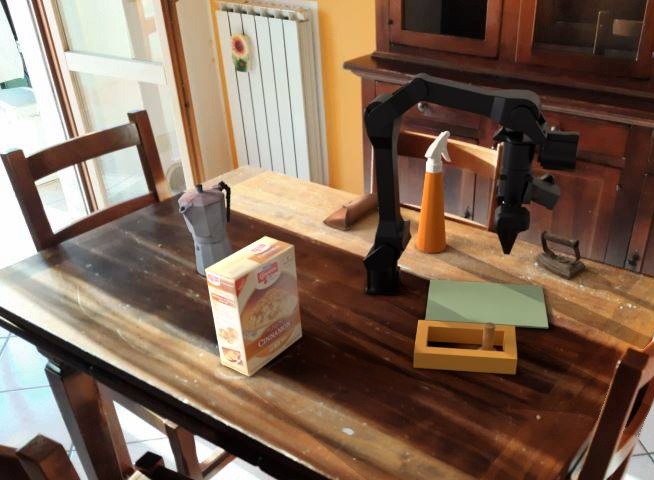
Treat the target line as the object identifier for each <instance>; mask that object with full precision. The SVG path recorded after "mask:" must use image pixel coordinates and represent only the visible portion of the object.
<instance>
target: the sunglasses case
mask: <svg viewBox="0 0 654 480" xmlns="http://www.w3.org/2000/svg"><path fill="white" fill-rule="evenodd" d="M377 209H378V200H377V192H372V193H367V194H364V195H361V196H358V197H356V198H354V199H351V200H349V201H346V202H345V203H343V204H342V206H341V207H339V208H338V209H336V210H334V211H333V212H332V213H331V214H329V215H328V216H326V217H325V219H323V220H322V223H323V224H324V225H326V226H329V227H330V228H334V229H337V230H341V231H347V230H348V229H349V228H351V227H353V226H354V225H355V224H356V223H358V222H359V221H361V220H362V218H364V217H366V216H367V215H369V214H370V213H371V212H373V211H375V210H377Z"/></svg>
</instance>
